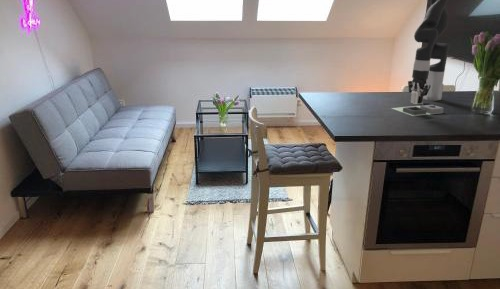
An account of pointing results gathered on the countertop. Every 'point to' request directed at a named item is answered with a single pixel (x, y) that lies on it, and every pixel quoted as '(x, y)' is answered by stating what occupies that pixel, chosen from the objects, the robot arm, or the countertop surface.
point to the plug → (415, 97)
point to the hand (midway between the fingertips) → (416, 102)
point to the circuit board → (429, 109)
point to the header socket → (414, 110)
